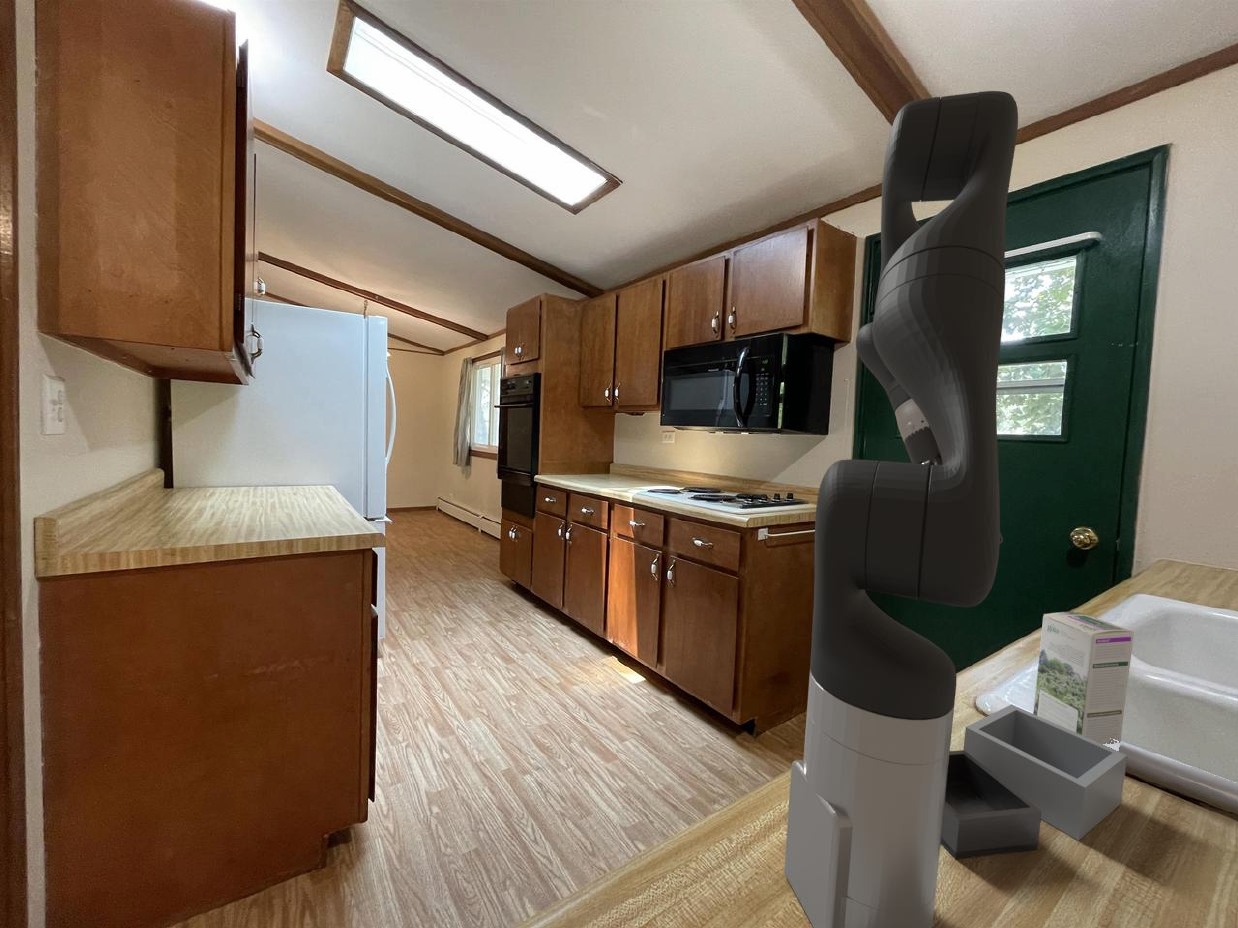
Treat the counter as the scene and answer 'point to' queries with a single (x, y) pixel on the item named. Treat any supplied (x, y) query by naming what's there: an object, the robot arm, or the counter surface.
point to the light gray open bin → (1050, 767)
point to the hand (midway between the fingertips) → (978, 542)
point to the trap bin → (985, 812)
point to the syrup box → (1083, 675)
